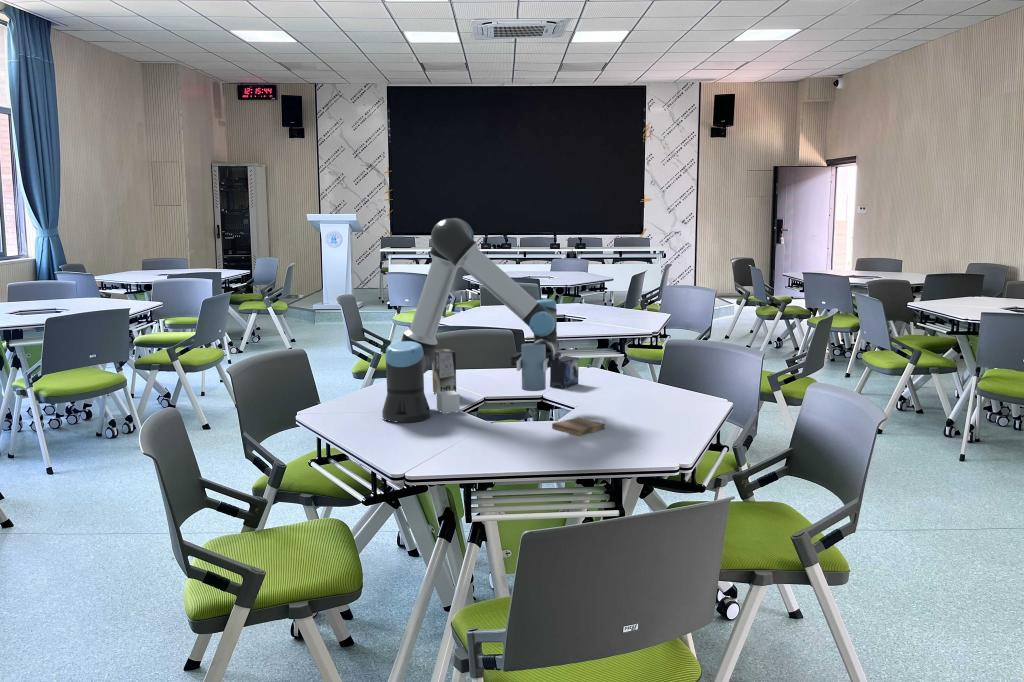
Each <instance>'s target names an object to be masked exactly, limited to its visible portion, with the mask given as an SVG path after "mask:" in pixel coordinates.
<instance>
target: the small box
mask: <svg viewBox="0 0 1024 682" xmlns="http://www.w3.org/2000/svg"><path fill="white" fill-rule="evenodd" d="M553 360H554V359H553ZM579 360H580V358H579V357H576V356H572V355H571V356H569V355H563V356H561V361H560V362H559V366H558V367H556V366H555V365H553V367H549V369H550V370H549V371H550V372H549V373H550V375H549V377H550V379H549V388H554V389H555V388H556V389H562V390H563V389H567V388H570V387H573V386H578V385H579V365H580V363H579V362H580V361H579ZM577 384H578V385H577Z"/></svg>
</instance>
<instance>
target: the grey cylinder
mask: <svg viewBox="0 0 1024 682" xmlns="http://www.w3.org/2000/svg"><path fill="white" fill-rule="evenodd" d="M520 347H521V353H522V368H521V389H522V390H523V391H526V392H540V391H545V390H546V387H547V384H546V382H547V380H546V378H547V377H546V376H547V375H546V374H547V373H546V372H547V371H543V362H544V360H545V359H546V347H545V344H542V343H534V342H528V343H526V342H525V343H522V344H521V346H520Z"/></svg>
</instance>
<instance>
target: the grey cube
mask: <svg viewBox="0 0 1024 682" xmlns="http://www.w3.org/2000/svg"><path fill="white" fill-rule="evenodd" d="M436 393H437V396H436V410H437V409H438V410H439V411H441V412H442V413H444V414H448V413H447V412H454V413H457V412H456V411H460V412H461V404H460V402H461V401H460V399H461V398H460V395H461V394H460V393H459V392H457V391H456V392H455V391H444V392H436ZM438 410H437V411H438ZM439 411H438V412H439ZM441 412H440V413H441ZM442 413H441V414H442Z"/></svg>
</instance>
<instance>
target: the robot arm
mask: <svg viewBox="0 0 1024 682" xmlns="http://www.w3.org/2000/svg"><path fill="white" fill-rule="evenodd" d="M433 226H434V227H433V229H432V230H431V234H430V241H431V244H432V245H431V247H430V251H429V255H430V258H431V260H432V261H431V264H430V265H429V270H428V274H427V276H426V279H425V282H424V284H423V288H422V290H421V294H420V296H419V300H418V302H417V306H416V309H415V311H414V315H413V319H412V322H411V325H410V328H409V329H406V330H404V332H403V335H402V337H401V340H400V341H397V342H395V343H391V344H389V345H388V346H387V347H386V349H385V354H384V355H385V357H384V359H385V369H386V370H385V372H386V374H385V375H386V376H385V377H386V397H385V400H384V404H383V409H382V411H381V413H382V414H381V416H382V417H383V418H384V419H386V420H390V421H397V422H407V423H415V422H414V421H417V422H421V420H422V421H426V420H427V418H428V419H429V418H430V417H431V407H430V405H429V403H428V400H427V397H426V394H425V382H424V381H425V379H424V374H425V373H426V372H428V371H429V370H430V368H432V364H433V361H434V352H435V350H437V345H438V344H439V343H438V341H437V338H436V335H437V331H438V328H439V326H440V322H441V320H442V317H443V313H444V310H445V308H446V306H447V305H446V304H447V301H448V299H449V295H450V292H451V289H452V286H453V284H454V280H455V277H456V274H457V271H458V269H459V268H462V269H464V270H465V272H467V274H469V275H470V276H471V277H472V278H473V279H475V280H476V281H477V282H478V284H481V286H483V287H484V288H485V289H486V290H487V291H489V292H490V294H492V295H493V296H494V297H495V298H496V299H497V300H498V301H499V302H501V303H502V304H503V305H504V306H505V307H506V308H507V309H509V310H510V311H511V312H513V314H514V315H515V316H517V317H518V318H519V319H520V320H521V321H522V322H523V323H524V324H525V325H526V326H528V328H529V329H530V331H531V332H532V333H533V343H542V344H545V347H546V359H545V360H544V362H543V371H546V372H547V371H548V369H549V368H550V367H553V365H555V366H556V367H558V366H559V362H560V361H561V357H562V352H558V351H559V342H558V332H557V327H558V325H557V323H558V322H557V313H558V312H557V311H558V310H557V303H556V301H555V300H554V299H537V300H536V299H535V298H534V297H533V296H532V295H530V294H529V293H528V292H527V290H525V289H524V288H523V287H522V286H520V285H519V284H518V283H517V282H516V281H515V280H514V279H512V277H511V276H509V275H508V273H506V272H505V271H504V270H502V269H501V267H499V266H498V265H497V264H496V263H495V262H494V261H492V260H491V259H490V258H489V257H488V256H487V255H486V254H485V253H483V251H481V249H479V248H478V242H476V241H475V236H474V231H473V229H472V227H471V225H470V224H469V223H468V222H466V221H465V220H463V219H461V218H458V217H451V218H444V219H441V220H440V221H438V222H437V223H436V224H435V225H433ZM553 359H554V360H553ZM510 365H511V366H514V367H516V372H518V371H519V372H520V371H522V351H517V353H516V354H514V355H513V356H511V357H510ZM383 418H382V419H383ZM384 419H383V420H384ZM386 420H385V421H386ZM397 422H396V423H397Z"/></svg>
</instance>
